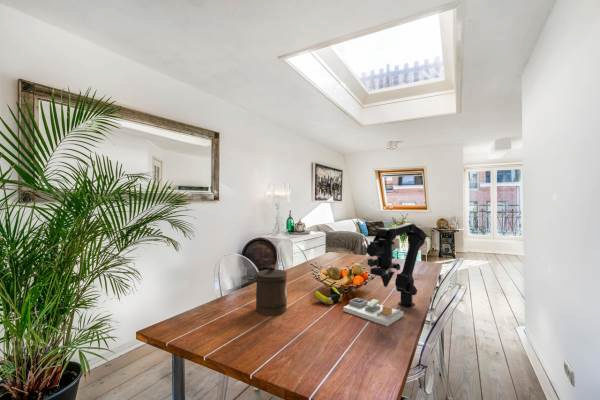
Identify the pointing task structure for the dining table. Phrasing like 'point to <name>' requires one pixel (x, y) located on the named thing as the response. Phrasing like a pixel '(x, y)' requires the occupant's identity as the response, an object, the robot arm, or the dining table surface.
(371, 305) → the rocker
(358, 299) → the push button
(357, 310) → the panel
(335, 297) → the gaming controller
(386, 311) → the orange rectangular block
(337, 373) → the dining table surface
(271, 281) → the wooden container
